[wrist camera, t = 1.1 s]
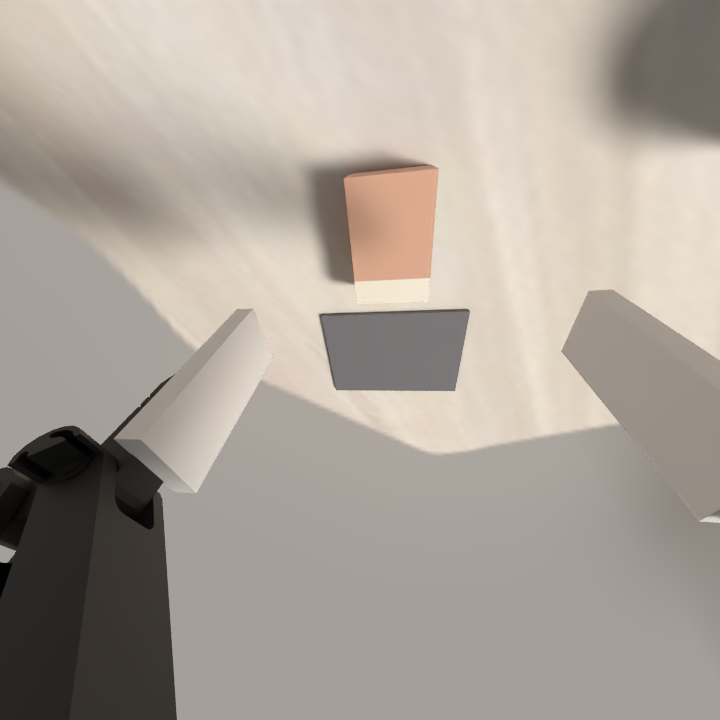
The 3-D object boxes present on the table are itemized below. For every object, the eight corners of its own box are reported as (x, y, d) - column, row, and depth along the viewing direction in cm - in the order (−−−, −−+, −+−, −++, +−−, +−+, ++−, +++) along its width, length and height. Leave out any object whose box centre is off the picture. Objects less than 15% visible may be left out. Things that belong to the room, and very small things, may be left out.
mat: (321, 314, 28) (321, 316, 28) (468, 309, 26) (469, 311, 26) (336, 387, 35) (336, 390, 35) (454, 388, 33) (454, 390, 33)
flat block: (351, 173, 20) (343, 178, 17) (431, 164, 20) (438, 168, 16) (361, 285, 26) (356, 304, 23) (424, 282, 25) (428, 301, 22)
